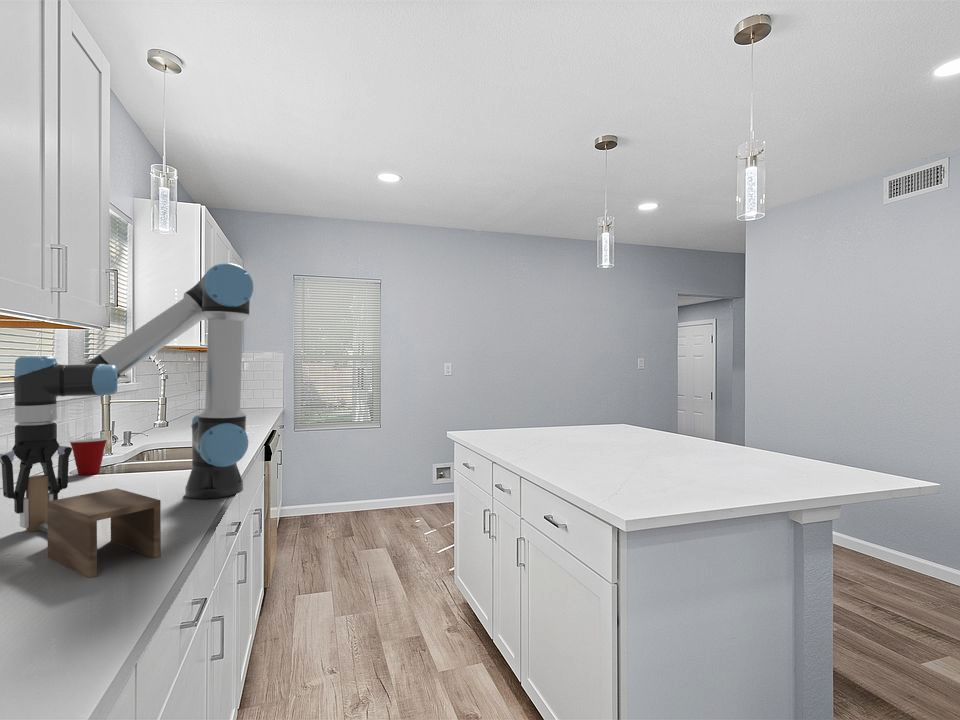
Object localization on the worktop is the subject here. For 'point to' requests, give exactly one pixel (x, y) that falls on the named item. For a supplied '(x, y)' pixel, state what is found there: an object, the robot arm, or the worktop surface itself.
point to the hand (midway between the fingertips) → (36, 523)
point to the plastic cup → (88, 455)
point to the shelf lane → (78, 526)
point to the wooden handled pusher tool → (37, 502)
